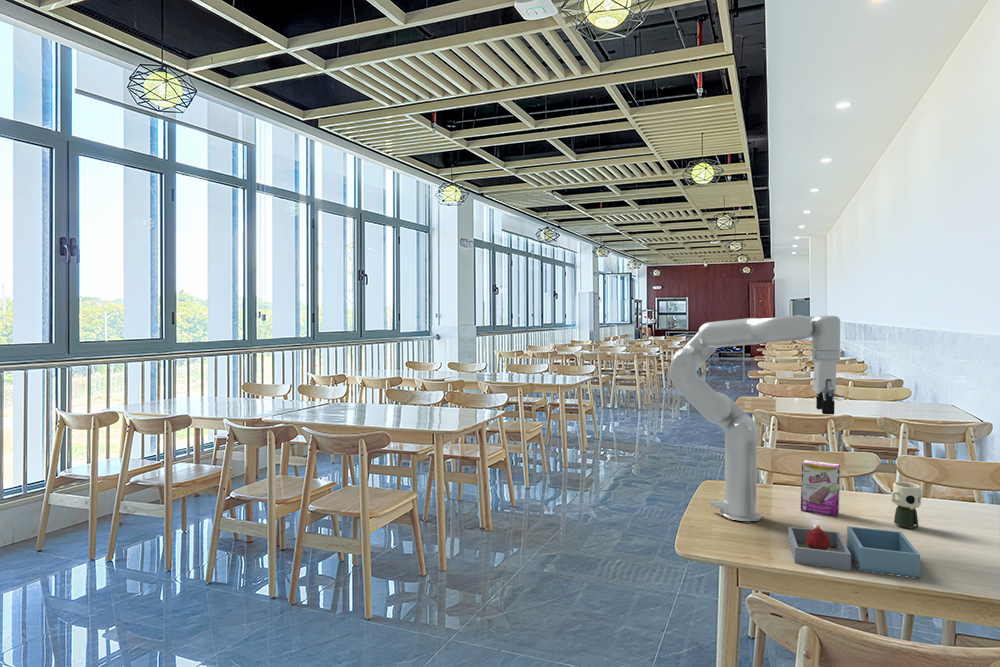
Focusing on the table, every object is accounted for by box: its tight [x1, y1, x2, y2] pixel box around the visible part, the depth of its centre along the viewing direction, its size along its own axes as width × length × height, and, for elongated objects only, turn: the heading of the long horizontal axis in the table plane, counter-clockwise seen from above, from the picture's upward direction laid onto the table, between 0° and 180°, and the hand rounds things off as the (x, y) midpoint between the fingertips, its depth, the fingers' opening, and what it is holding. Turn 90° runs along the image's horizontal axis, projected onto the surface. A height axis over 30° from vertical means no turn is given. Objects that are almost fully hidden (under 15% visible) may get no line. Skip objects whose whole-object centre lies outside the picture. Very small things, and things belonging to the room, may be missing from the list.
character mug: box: [890, 481, 923, 529], centre depth 187 cm, size 11×7×13 cm, turn 103°
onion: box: [805, 524, 830, 551], centre depth 165 cm, size 6×6×8 cm
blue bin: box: [846, 525, 921, 579], centre depth 160 cm, size 13×17×6 cm
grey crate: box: [787, 526, 852, 571], centre depth 165 cm, size 13×17×4 cm
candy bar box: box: [800, 459, 841, 517], centre depth 200 cm, size 11×5×16 cm, turn 58°
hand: (825, 411), depth 185 cm, fingers open, 9 cm apart
